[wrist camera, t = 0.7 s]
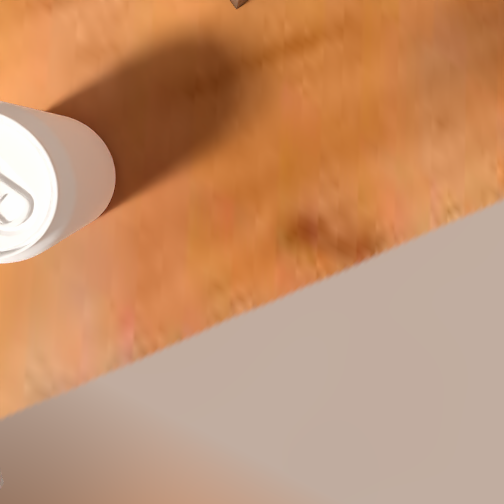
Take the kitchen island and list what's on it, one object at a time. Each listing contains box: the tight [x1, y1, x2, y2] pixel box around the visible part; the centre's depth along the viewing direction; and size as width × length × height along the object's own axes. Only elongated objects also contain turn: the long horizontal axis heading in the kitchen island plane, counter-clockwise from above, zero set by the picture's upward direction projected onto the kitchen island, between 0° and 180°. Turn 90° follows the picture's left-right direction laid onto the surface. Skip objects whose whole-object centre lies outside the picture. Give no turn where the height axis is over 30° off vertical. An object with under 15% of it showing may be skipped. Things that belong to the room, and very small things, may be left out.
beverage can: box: [0, 101, 116, 263], centre depth 27 cm, size 8×8×12 cm
